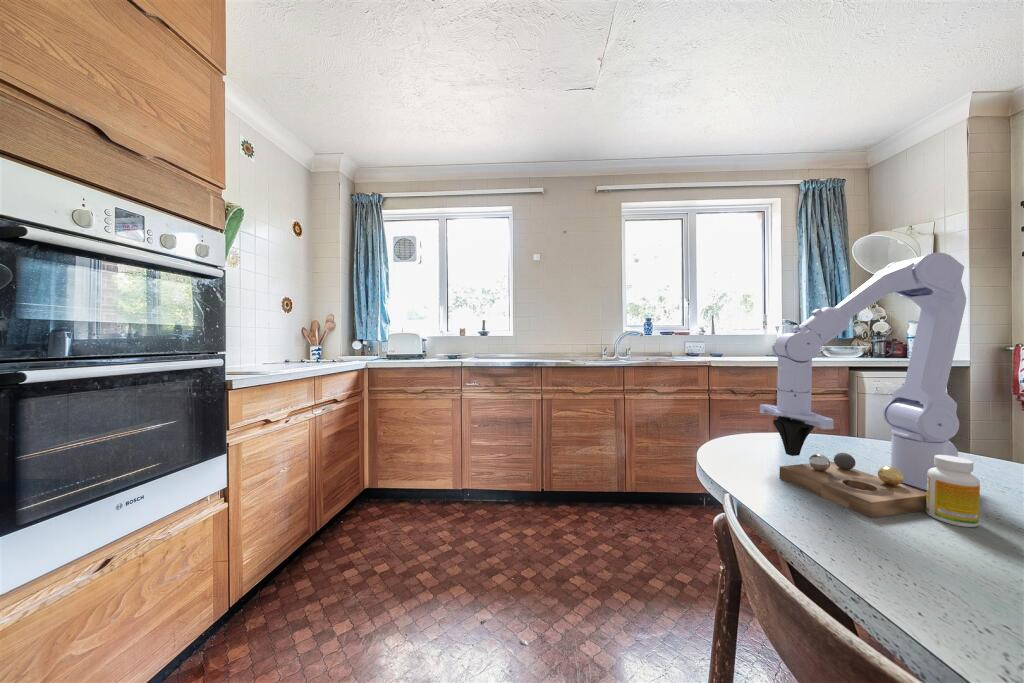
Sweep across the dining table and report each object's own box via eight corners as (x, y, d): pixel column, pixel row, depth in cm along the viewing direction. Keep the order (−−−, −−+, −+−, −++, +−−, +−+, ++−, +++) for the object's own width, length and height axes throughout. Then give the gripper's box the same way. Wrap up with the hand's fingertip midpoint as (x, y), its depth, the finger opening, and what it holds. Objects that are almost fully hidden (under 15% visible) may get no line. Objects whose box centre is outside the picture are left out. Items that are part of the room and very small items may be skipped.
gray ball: (841, 465, 75) (842, 450, 75) (859, 471, 72) (860, 455, 72) (829, 466, 74) (829, 451, 74) (846, 472, 71) (847, 456, 71)
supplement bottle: (990, 530, 56) (993, 466, 55) (947, 526, 57) (949, 463, 56) (955, 512, 61) (957, 454, 61) (916, 509, 62) (918, 452, 62)
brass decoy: (886, 480, 68) (886, 463, 68) (908, 487, 65) (908, 469, 64) (872, 481, 67) (873, 464, 67) (894, 489, 64) (894, 471, 64)
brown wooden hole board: (830, 473, 78) (831, 461, 77) (931, 509, 62) (931, 494, 62) (779, 478, 75) (779, 466, 75) (870, 517, 59) (871, 502, 59)
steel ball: (817, 466, 74) (817, 451, 74) (834, 472, 71) (834, 456, 71) (804, 468, 74) (804, 452, 74) (821, 474, 71) (821, 457, 70)
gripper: (748, 385, 84) (747, 445, 84) (813, 397, 69) (811, 468, 70) (774, 384, 85) (773, 443, 86) (843, 395, 71) (841, 465, 71)
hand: (792, 454), depth 78 cm, fingers closed
